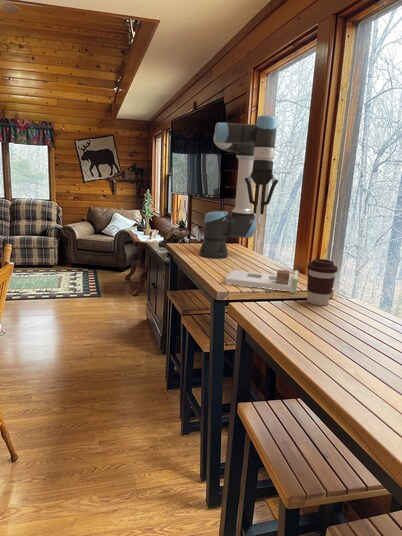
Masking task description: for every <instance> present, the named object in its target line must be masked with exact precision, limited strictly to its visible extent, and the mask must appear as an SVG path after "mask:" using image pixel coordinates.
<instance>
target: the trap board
mask: <svg viewBox="0 0 402 536" xmlns="http://www.w3.org/2000/svg"><path fill="white" fill-rule="evenodd" d="M298 276H299V270H295V271H294V276H289V282H288V285H283V284H276V279H277V274H268V273H262V272H252V271H251V272H250V271H243V270H235V269H231V271H230V272H229V273H228V275H227V276H225V280H224V284H225V283H231V284H236V285H243V286H252V287H265V288H272V289H279V290H287V291H289V292H290V294H296V293H297V284H298ZM289 292H288V293H289Z"/></svg>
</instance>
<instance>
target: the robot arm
mask: <svg viewBox="0 0 402 536" xmlns="http://www.w3.org/2000/svg"><path fill="white" fill-rule="evenodd" d="M214 127H215V128H214V135H213V144H215V146H216V147H217V148H218V149H220V150H223V151H226V152H230V153H235V154H236V155H235V156H236V158H237V159H238V167H237V168H238V169H237V181H236V193H235V203H234V204H235V205H234V208H233V209H232V210H231V213H230V214H229V212H228V211H226V210H220V211H219V210H218V211H217V210H216V211H209V212H207V213H206V214H205V215H204V220H203V223H204V229H203V241H202V243H201V246H200V248H199V254H198V255H199V256H200V257H203V258H208V259H225V258H226V259H227V258H228V257H229V251H228V247H227V243H226V239H227V238H243V239H245V238H248V239H250V238H252V237H253V236H254V235H255V232H256V228H257V224H260V222H261V215H264V211H265V206H267V205H269V204H270V202H271V199H272V196H273V193H274V191H275V188H276V186H277V184H278V183H279V179H277V178H276V177H274V174H273V170H274V168H273V167H274V161H273V160H274V157H275V149H276V148H275V147H276V146H275V145H276V138H277V128H278V118H277V117H276V115H275V116H274V115H269V114H268V115H267V114H266V115H265V114H264V115H263V114H262V115H258V116H257V118H256V123H253V124H250V123H234V122H225V121H223V122H217V123H216V124H215V126H214ZM270 182H271V186H270V189H269V192H268V195H267V198H266V193H267V185H268V184H269V183H270ZM254 187H255V188H254ZM260 187H261V197H260V198H261V199H260V205H259V195H260ZM254 190H255V191H254Z"/></svg>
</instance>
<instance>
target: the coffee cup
mask: <svg viewBox="0 0 402 536" xmlns="http://www.w3.org/2000/svg"><path fill="white" fill-rule="evenodd" d="M307 270H308V273H307V285H306V290H307V296H306V300H307V302H308V303H309V304H311V305H316V306H328V304H329V303H330V298H331V294H332V293H333V287H334V284H335V278H336V277H335V276H336V273H338V266H337V265H335V263H334V261H332V260H330V259H325V258H324V259H323V258H315V259H312V261H311V262H308V263H307Z"/></svg>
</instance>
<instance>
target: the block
mask: <svg viewBox="0 0 402 536" xmlns="http://www.w3.org/2000/svg"><path fill="white" fill-rule="evenodd" d="M290 272H291V271H290V270H284V269H277V272H276V275H277V279H276V284H283V285H288V282H289V277H290Z"/></svg>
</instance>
